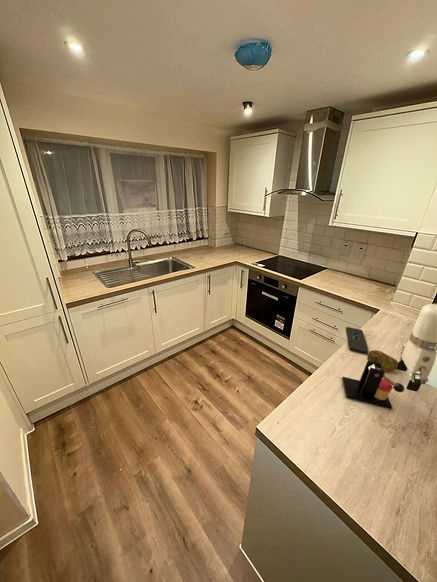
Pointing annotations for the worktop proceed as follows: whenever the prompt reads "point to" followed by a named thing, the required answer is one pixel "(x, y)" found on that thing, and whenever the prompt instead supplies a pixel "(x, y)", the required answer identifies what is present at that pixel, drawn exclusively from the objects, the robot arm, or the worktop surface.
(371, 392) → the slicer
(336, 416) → the worktop surface
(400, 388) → the black ball knob
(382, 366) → the potato
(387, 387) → the cake
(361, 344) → the smart home device
